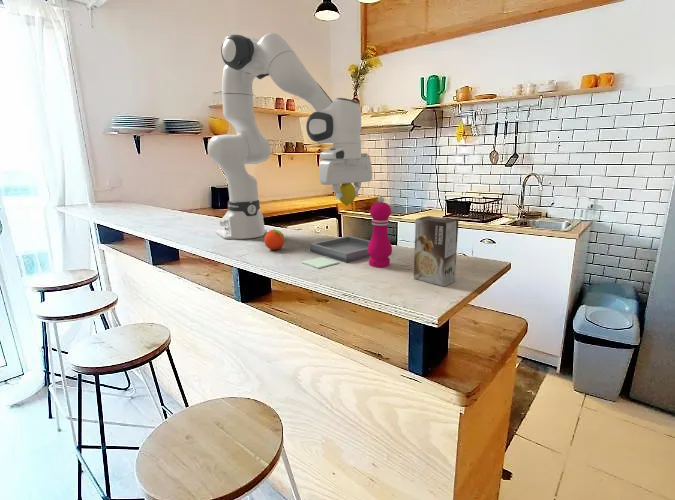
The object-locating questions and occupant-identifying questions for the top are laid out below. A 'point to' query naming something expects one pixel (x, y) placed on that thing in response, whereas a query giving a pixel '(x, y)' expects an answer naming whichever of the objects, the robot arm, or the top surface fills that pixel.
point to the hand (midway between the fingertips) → (347, 197)
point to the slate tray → (342, 248)
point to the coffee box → (435, 249)
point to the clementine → (274, 239)
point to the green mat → (320, 262)
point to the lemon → (347, 193)
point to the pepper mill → (380, 235)
